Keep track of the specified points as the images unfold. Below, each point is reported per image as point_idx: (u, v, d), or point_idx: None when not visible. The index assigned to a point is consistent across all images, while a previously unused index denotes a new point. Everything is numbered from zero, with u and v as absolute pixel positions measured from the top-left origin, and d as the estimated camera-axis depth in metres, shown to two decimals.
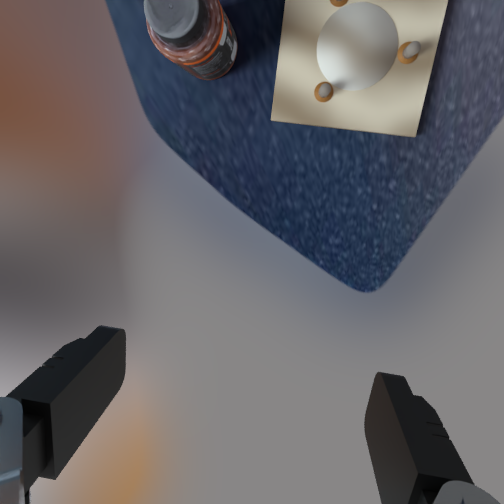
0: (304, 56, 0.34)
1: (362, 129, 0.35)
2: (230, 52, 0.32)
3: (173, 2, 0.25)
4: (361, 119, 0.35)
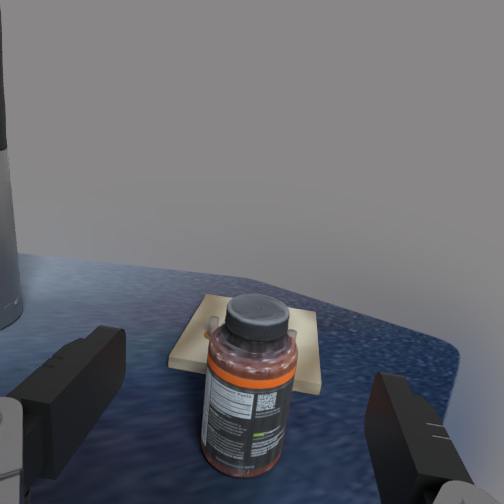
0: None
1: (316, 332, 0.40)
2: None
3: (255, 305, 0.23)
4: (308, 332, 0.40)
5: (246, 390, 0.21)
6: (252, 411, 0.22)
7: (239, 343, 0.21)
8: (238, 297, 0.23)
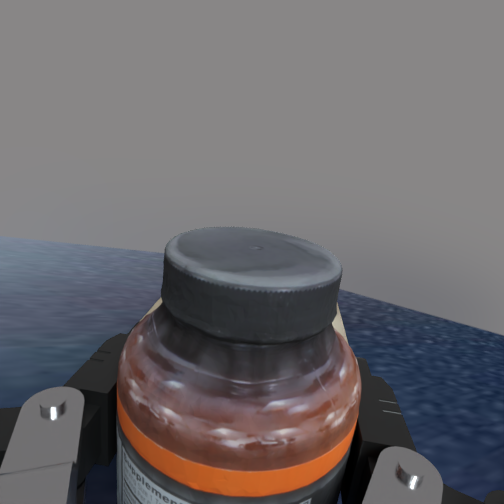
0: None
1: (343, 331, 0.26)
2: None
3: (247, 244, 0.08)
4: None
5: (216, 500, 0.07)
6: None
7: (195, 349, 0.07)
8: (203, 230, 0.09)
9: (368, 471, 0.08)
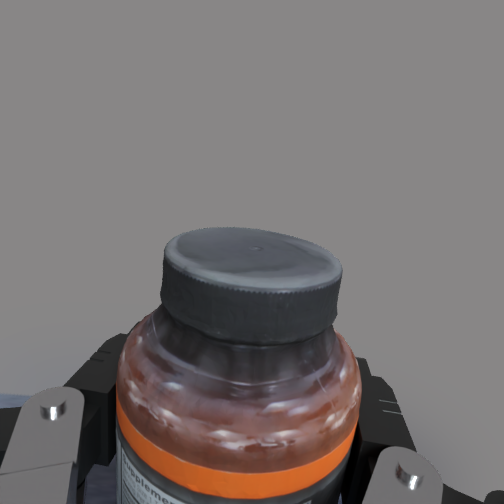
0: None
1: None
2: None
3: (247, 245, 0.08)
4: None
5: (216, 503, 0.07)
6: None
7: (195, 351, 0.07)
8: (202, 230, 0.09)
9: (368, 471, 0.08)
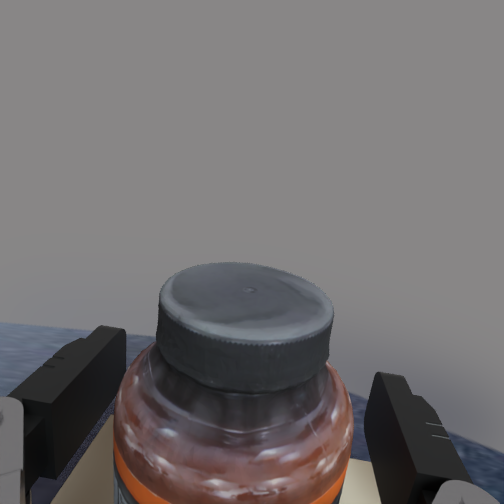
0: None
1: None
2: None
3: (241, 285, 0.08)
4: None
5: None
6: None
7: (189, 397, 0.07)
8: (197, 268, 0.09)
9: None
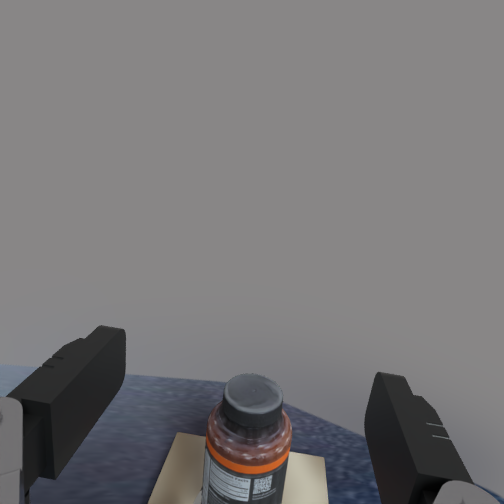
0: None
1: None
2: None
3: (251, 388, 0.24)
4: None
5: (243, 475, 0.22)
6: (249, 494, 0.23)
7: (236, 429, 0.23)
8: (234, 379, 0.25)
9: None
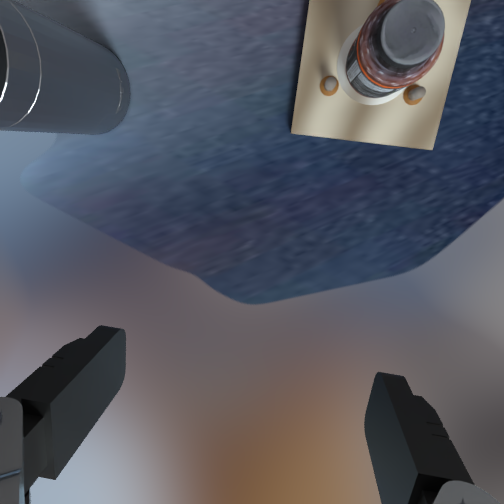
0: (377, 117, 0.35)
1: (457, 48, 0.33)
2: None
3: (410, 26, 0.23)
4: (446, 50, 0.33)
5: (388, 88, 0.28)
6: (391, 91, 0.29)
7: (388, 65, 0.25)
8: (393, 13, 0.23)
9: None
